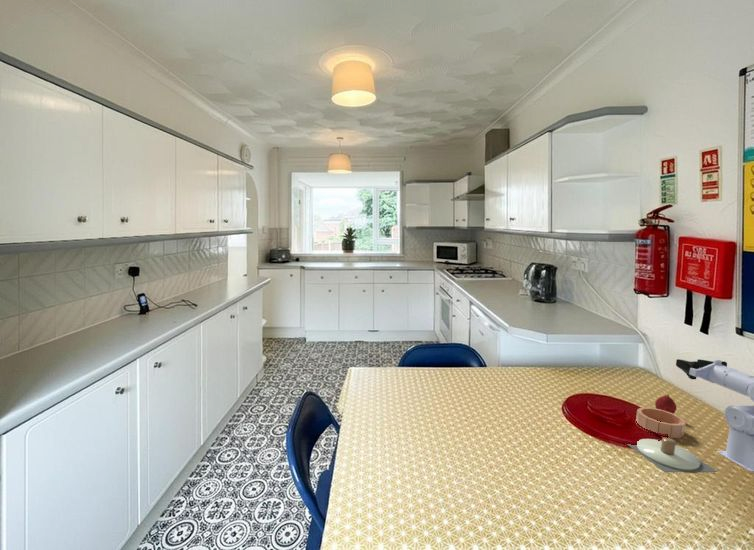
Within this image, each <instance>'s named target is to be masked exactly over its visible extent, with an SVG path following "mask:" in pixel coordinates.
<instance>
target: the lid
mask: <svg viewBox="0 0 754 550" xmlns="http://www.w3.org/2000/svg"><path fill="white" fill-rule="evenodd" d="M658 440H659V439H655V438H641V439H639V441H637V445H636V447H637V449H638V451H639V452H640V453H642V454H643V455H644V456H646V457H647V458H649V459H651V460H653V461H655V462H657V463H659V464H662V465H665V466H668V467H671V468H675V469H680V470H696V469H698V468H699V467H700V461H699V460H700V459H699V458H698V457H697V455H695V454H694V453H692V452H691V451H689V450H687V449H685V448H683V447H681V446H679V445H676V444H677V442H676V440H674V438H667V437H663V436H662V438H661V440H660V441H658Z"/></svg>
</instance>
